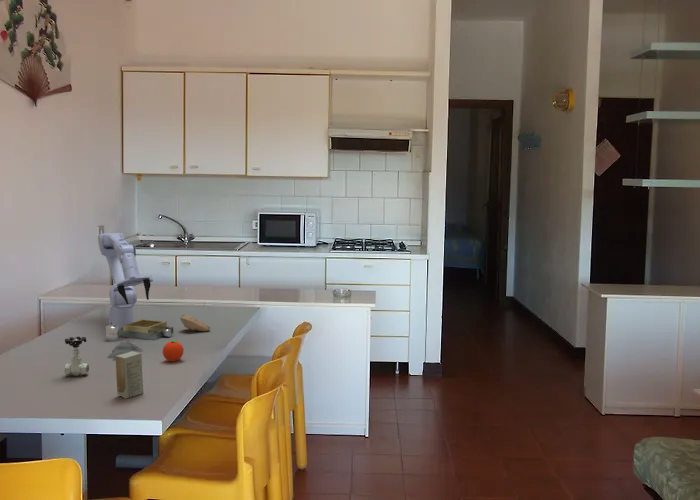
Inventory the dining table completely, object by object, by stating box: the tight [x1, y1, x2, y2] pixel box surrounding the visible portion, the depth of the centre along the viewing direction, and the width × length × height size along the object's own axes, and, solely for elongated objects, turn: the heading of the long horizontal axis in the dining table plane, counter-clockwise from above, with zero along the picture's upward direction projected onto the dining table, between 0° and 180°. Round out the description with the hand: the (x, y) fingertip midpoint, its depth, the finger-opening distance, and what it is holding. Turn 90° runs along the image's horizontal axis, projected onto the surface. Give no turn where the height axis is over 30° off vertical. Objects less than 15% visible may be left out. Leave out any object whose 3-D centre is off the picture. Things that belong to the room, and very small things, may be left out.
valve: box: [64, 335, 90, 377], centre depth 217 cm, size 7×7×12 cm
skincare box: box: [115, 351, 144, 399], centre depth 198 cm, size 6×4×12 cm
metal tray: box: [118, 318, 174, 341], centre depth 271 cm, size 21×12×4 cm, turn 69°
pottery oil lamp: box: [179, 314, 211, 332], centre depth 277 cm, size 9×12×7 cm
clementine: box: [162, 340, 184, 362], centre depth 234 cm, size 8×7×7 cm
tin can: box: [105, 324, 120, 343], centre depth 262 cm, size 5×5×6 cm
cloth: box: [106, 340, 144, 361], centre depth 247 cm, size 26×14×2 cm, turn 175°
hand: (137, 300), depth 264 cm, fingers open, 7 cm apart
